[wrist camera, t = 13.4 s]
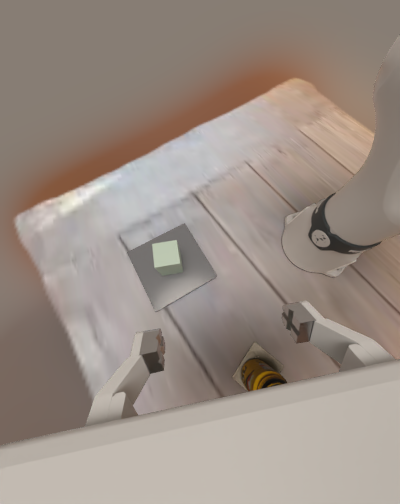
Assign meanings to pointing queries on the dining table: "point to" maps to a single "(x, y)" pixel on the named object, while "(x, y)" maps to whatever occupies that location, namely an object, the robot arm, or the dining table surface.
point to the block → (167, 258)
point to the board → (172, 285)
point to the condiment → (259, 370)
